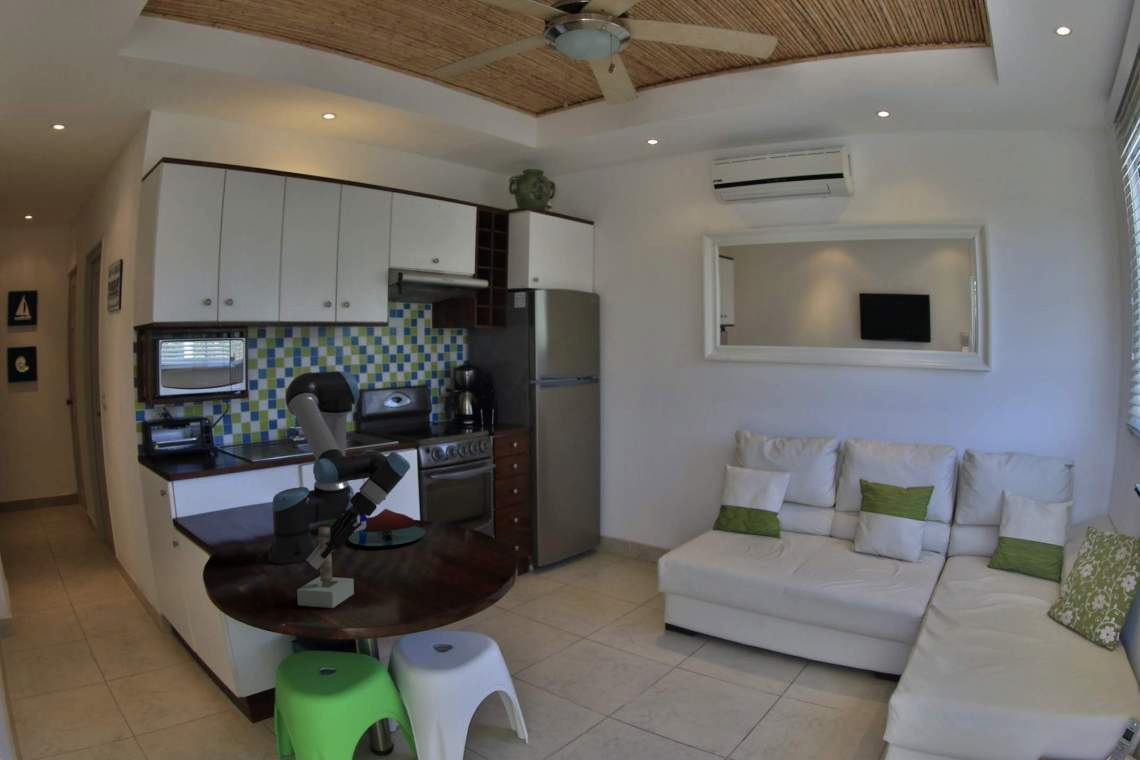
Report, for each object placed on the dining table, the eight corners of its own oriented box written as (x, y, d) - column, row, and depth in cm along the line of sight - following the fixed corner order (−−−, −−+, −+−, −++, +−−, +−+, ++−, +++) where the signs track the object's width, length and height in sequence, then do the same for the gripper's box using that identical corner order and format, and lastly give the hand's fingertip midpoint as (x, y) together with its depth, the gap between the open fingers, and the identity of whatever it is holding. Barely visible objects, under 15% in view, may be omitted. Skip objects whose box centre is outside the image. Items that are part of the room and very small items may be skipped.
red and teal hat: (352, 554, 236) (351, 523, 236) (345, 534, 262) (344, 506, 261) (432, 544, 247) (431, 514, 247) (417, 525, 273) (417, 498, 272)
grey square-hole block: (297, 605, 190) (297, 589, 190) (320, 591, 201) (319, 576, 201) (332, 608, 188) (332, 592, 188) (353, 593, 199) (353, 578, 198)
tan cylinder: (317, 580, 193) (315, 528, 192) (326, 577, 196) (324, 525, 195) (325, 582, 192) (323, 530, 191) (334, 578, 194) (333, 527, 194)
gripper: (385, 511, 194) (328, 579, 186) (369, 501, 208) (315, 564, 200) (366, 495, 191) (307, 564, 183) (351, 486, 205) (295, 550, 197)
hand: (311, 564), depth 191 cm, fingers closed on tan cylinder, 3 cm apart
